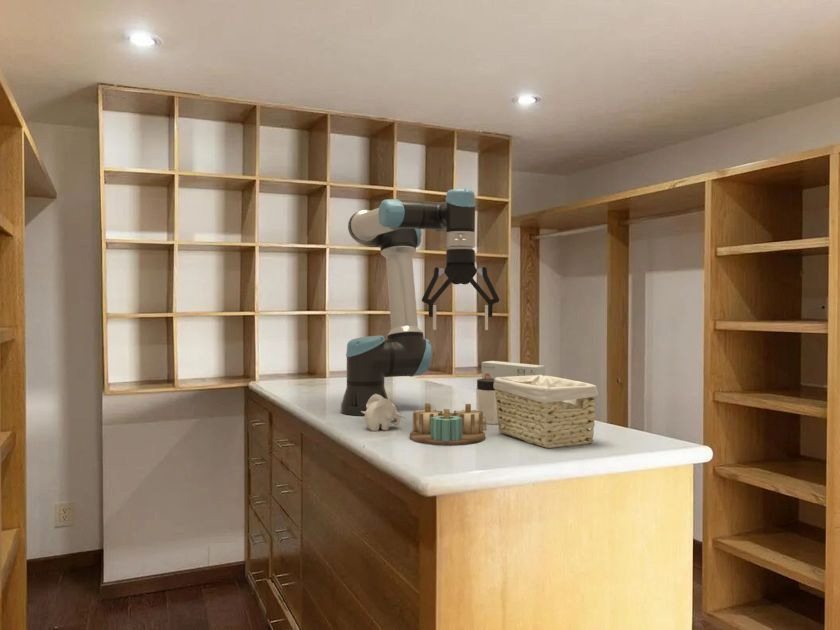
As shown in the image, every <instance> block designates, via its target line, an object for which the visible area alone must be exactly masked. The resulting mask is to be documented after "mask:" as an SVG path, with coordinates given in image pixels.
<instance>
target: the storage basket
mask: <svg viewBox="0 0 840 630" xmlns="http://www.w3.org/2000/svg"><path fill="white" fill-rule="evenodd" d="M493 386H494V389H495V397H496V404H497V407H496V408H497V418H498V424H497V426H498V427H497V429H498V431H499V432H500V433H501V434H504V435H507V436H510V437H513V438H516V439H519V440H521V441H524V442H526V443H529V444H535V445H537V446H540V447H543V448H547V449H553V448H554V449H555V448H562V447H573V446H574V447H575V446H580V445H581V446H583V445H584V446H585V445H588V444H592V443H593V442H594V433H595V431H594V429H595V425H596V422H595V420H596V405H597V403H596V401H597V398H598V396H599V390H598V386H597V385H596V384H592V383H589V382H583V381H577V380H574V379H573V380H572V379H568V378H564V377H563V378H561V377H558V376H550V375H545V376H542V375H532V376H511V377H496V378H495V379H494V385H493Z"/></svg>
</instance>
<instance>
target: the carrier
mask: <svg viewBox="0 0 840 630" xmlns="http://www.w3.org/2000/svg"><path fill="white" fill-rule="evenodd" d="M464 406H465V407H464V409H460V410H453V412H450V409H449V408H444V409H443V411H442V410H439V409H431V403H425V404H424V409H417V410H414V411H412V430H411V431H410V432H409V439H410V440H411V441H413V442H414V443H419V444H425V445H433V446H465V445H472V444H477V443H481V442H483V441H485V440H486V433H485V431H484V430H483V412H482V411H476V409H473V410H472V404H471V403H465V405H464ZM435 416H444V419H449V416H459V417H460V418H462V439H459V440H458V441H451V440H450V441H442V440H440V441H439V440H434V439H433V438H431V417H435Z"/></svg>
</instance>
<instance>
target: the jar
mask: <svg viewBox="0 0 840 630" xmlns="http://www.w3.org/2000/svg"><path fill="white" fill-rule="evenodd" d="M494 379H495V378H485V379H482V378H478V379H477V380H476V409H475V410H476V411H482V412H483V417H486V425H498V418H497V408H496V407H497V404H496V397H495V389H494V386H493V385H494Z"/></svg>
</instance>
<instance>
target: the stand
mask: <svg viewBox="0 0 840 630" xmlns="http://www.w3.org/2000/svg"><path fill="white" fill-rule="evenodd" d="M486 430H487V424H486V417H483V431H486Z"/></svg>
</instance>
